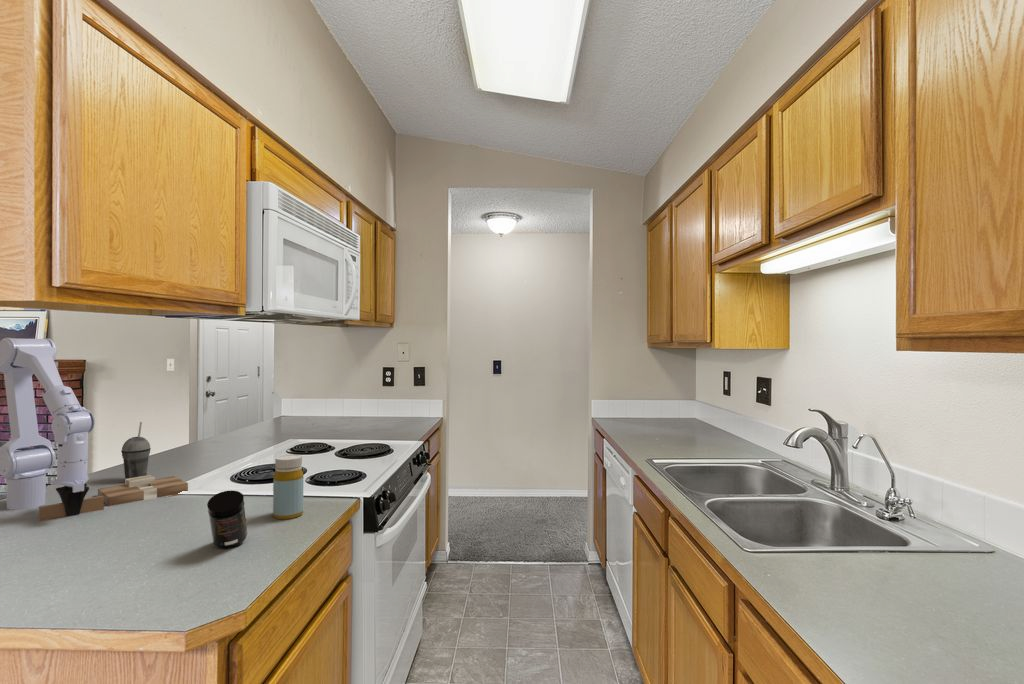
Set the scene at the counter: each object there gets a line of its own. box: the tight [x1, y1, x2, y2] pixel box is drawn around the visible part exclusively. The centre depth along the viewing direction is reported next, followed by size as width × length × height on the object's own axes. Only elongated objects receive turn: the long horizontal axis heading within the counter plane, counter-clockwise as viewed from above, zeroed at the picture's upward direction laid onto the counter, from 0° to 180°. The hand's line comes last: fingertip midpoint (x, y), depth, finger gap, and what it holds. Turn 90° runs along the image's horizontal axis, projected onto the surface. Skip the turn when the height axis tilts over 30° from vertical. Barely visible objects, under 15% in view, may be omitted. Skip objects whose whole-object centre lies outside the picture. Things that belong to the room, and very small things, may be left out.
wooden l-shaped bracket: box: [38, 495, 105, 522], centre depth 127 cm, size 9×12×5 cm
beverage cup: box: [121, 421, 152, 480], centre depth 154 cm, size 7×7×20 cm
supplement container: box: [207, 490, 248, 550], centre depth 108 cm, size 7×7×10 cm
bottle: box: [272, 454, 304, 520], centre depth 129 cm, size 7×7×15 cm
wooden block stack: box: [97, 474, 189, 507], centre depth 141 cm, size 14×18×6 cm
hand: (72, 516), depth 124 cm, fingers closed on wooden l-shaped bracket
